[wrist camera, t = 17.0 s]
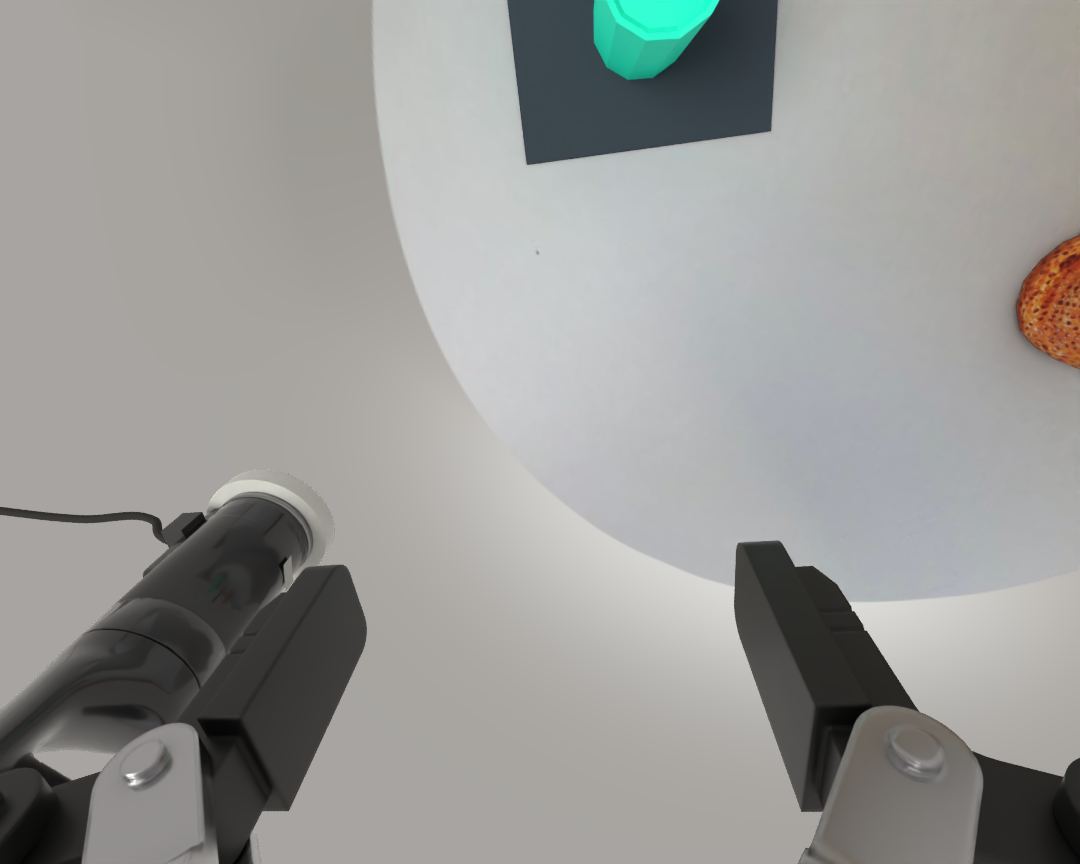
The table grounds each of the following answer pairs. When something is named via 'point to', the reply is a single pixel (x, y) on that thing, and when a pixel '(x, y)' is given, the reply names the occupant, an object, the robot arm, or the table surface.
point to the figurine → (1054, 304)
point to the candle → (646, 33)
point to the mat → (639, 82)
